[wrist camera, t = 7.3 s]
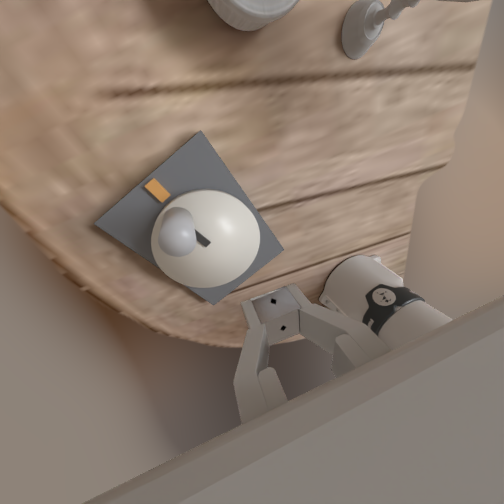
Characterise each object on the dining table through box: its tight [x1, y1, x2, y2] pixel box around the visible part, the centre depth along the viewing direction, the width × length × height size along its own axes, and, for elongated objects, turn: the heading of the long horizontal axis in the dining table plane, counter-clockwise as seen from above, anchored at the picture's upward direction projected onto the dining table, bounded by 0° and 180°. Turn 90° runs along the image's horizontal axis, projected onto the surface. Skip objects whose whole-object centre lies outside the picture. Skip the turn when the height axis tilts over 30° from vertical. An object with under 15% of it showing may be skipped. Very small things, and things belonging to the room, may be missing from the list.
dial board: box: [94, 131, 284, 305], centre depth 28 cm, size 22×17×3 cm
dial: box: [151, 189, 260, 288], centre depth 24 cm, size 15×15×8 cm
